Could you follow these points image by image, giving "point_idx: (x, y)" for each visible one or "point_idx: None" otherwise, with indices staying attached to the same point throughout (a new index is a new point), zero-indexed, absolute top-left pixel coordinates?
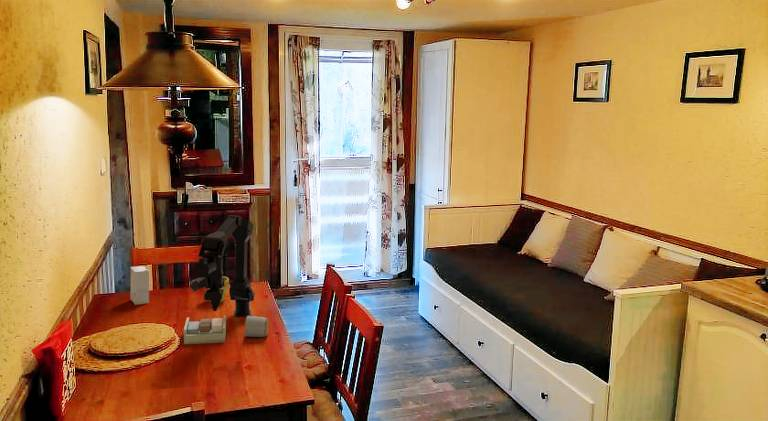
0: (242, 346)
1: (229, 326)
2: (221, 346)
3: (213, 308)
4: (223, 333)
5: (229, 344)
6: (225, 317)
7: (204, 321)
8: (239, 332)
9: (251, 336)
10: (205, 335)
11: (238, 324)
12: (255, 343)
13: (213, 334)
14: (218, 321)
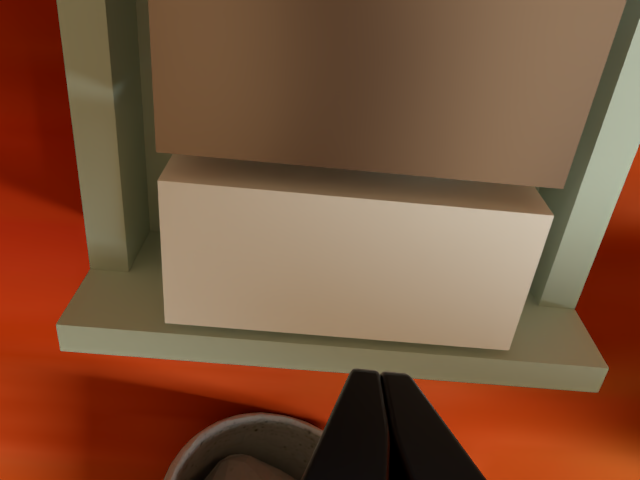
0: (11, 367)
1: (610, 306)
2: (4, 191)
3: (326, 429)
4: (87, 282)
5: (64, 270)
6: (517, 384)
7: (437, 61)
8: None
9: (216, 455)
10: (67, 32)
11: (625, 383)
12: (84, 455)
13: (78, 156)
14: (366, 289)
